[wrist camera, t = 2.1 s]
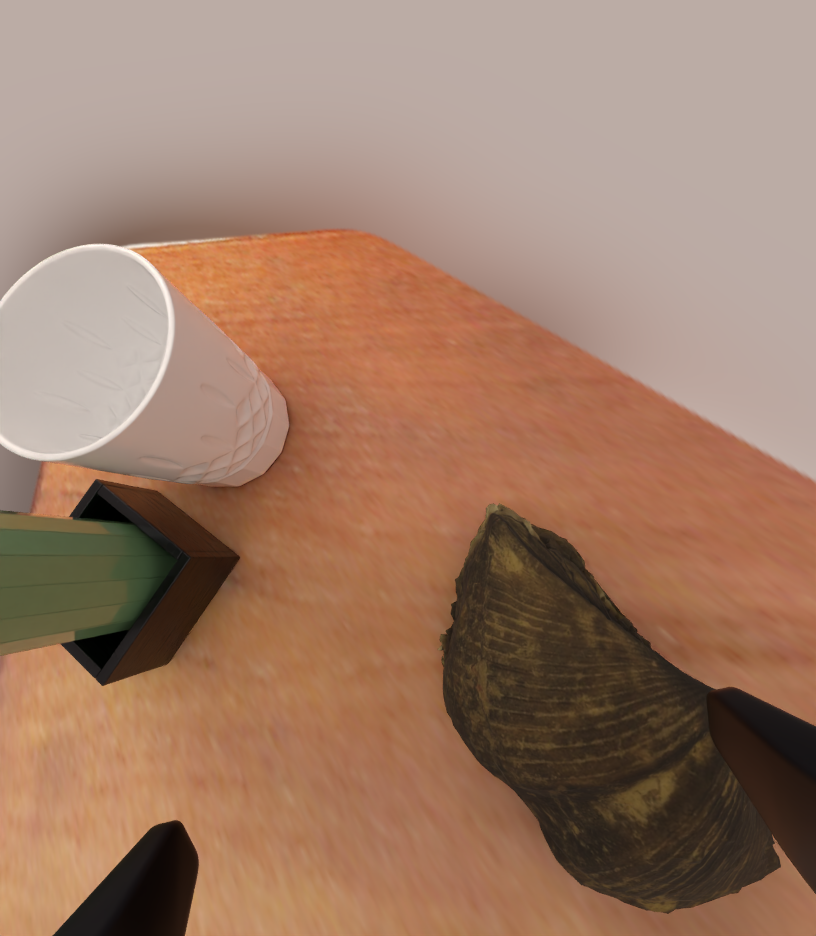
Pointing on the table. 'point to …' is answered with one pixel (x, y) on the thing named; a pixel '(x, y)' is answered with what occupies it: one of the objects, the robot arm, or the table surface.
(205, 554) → the black open box
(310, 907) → the table surface
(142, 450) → the white cup
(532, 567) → the seashell
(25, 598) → the green cylinder
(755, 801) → the robot arm
